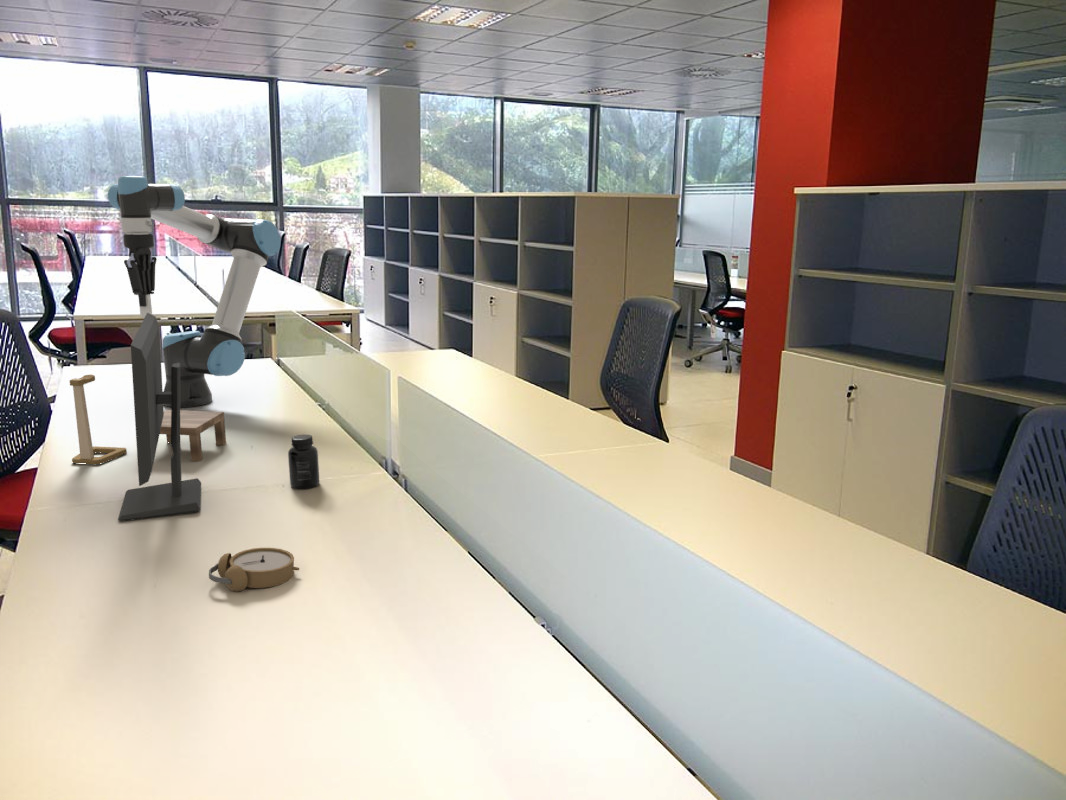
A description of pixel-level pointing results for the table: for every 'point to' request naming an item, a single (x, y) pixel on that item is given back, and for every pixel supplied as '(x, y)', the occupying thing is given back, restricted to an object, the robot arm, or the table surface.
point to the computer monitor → (156, 432)
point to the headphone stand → (88, 428)
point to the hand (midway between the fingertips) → (146, 317)
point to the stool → (196, 428)
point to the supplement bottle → (303, 462)
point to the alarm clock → (254, 568)
